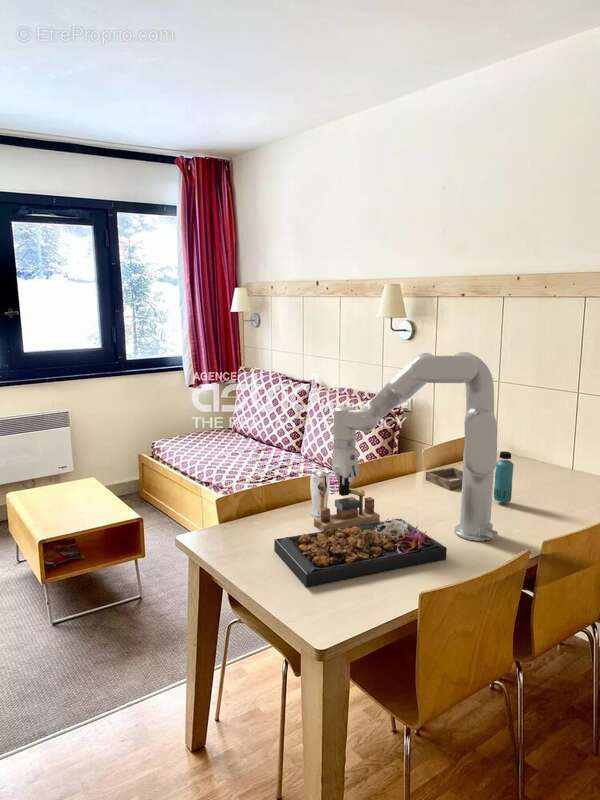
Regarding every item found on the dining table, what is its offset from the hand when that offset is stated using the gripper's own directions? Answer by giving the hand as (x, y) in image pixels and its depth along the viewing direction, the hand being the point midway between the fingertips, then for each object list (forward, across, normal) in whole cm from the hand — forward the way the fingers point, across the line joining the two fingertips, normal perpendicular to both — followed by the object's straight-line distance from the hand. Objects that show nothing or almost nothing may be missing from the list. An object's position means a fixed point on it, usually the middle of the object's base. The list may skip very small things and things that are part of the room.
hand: (344, 494), depth 200 cm
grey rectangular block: (+3, -3, +1) cm, 5 cm away
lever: (0, 0, -3) cm, 3 cm away
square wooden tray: (+10, +14, -63) cm, 65 cm away
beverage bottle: (+10, -14, -62) cm, 64 cm away
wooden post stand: (+9, -3, +1) cm, 10 cm away
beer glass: (+9, +9, +4) cm, 14 cm away
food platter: (+10, -26, +11) cm, 30 cm away
